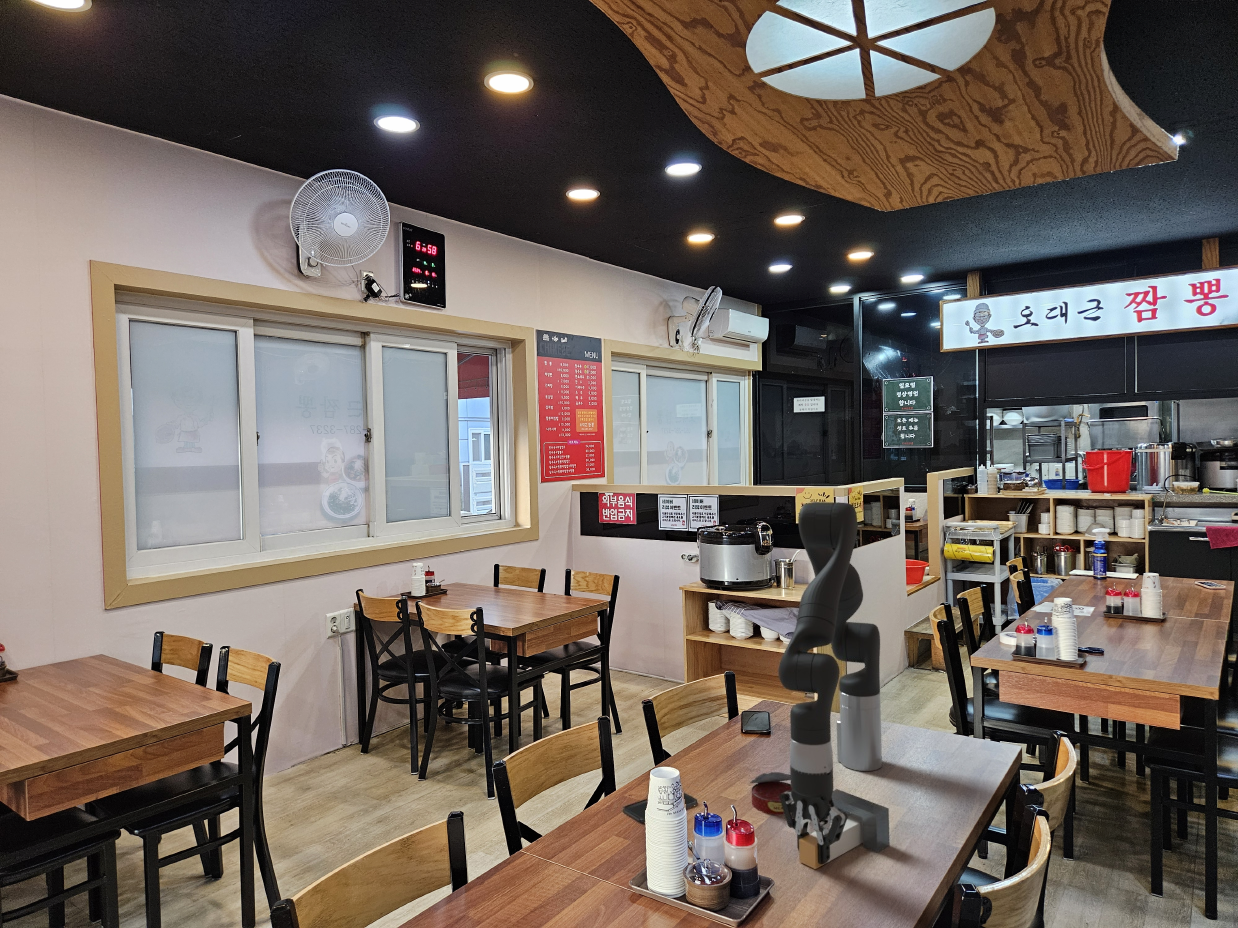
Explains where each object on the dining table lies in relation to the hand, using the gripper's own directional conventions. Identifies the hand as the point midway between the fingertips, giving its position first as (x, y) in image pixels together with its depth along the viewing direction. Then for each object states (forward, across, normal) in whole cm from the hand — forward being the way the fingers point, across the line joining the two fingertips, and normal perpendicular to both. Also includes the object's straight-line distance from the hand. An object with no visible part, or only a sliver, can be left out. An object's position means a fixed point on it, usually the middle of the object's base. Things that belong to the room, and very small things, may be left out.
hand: (813, 857), depth 142 cm
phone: (+1, -35, -6) cm, 36 cm away
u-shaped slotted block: (+1, 0, +13) cm, 13 cm away
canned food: (+1, -20, +13) cm, 24 cm away
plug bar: (+1, 0, +6) cm, 6 cm away
